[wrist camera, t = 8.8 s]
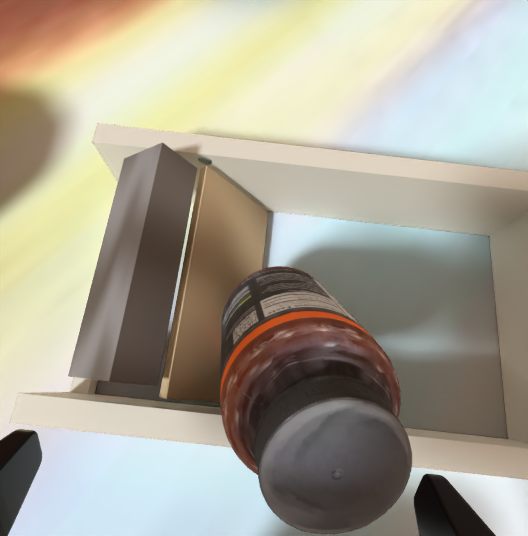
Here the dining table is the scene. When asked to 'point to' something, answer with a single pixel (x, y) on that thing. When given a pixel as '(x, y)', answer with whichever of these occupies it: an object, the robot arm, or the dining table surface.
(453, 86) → the dining table surface
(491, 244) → the frame
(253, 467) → the supplement bottle
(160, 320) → the trapdoor
